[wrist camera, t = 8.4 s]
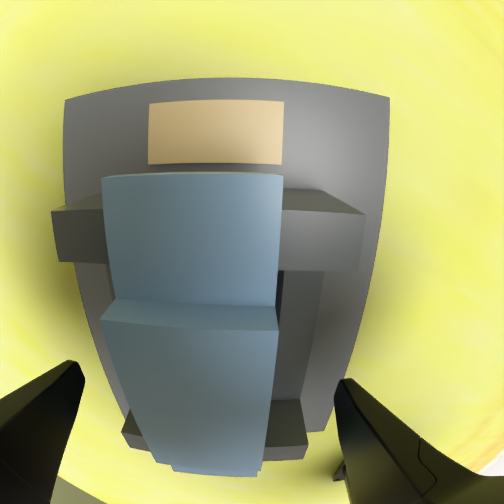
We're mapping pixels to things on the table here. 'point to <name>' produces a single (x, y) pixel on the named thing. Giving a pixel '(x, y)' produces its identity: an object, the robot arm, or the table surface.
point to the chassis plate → (292, 217)
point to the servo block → (195, 312)
